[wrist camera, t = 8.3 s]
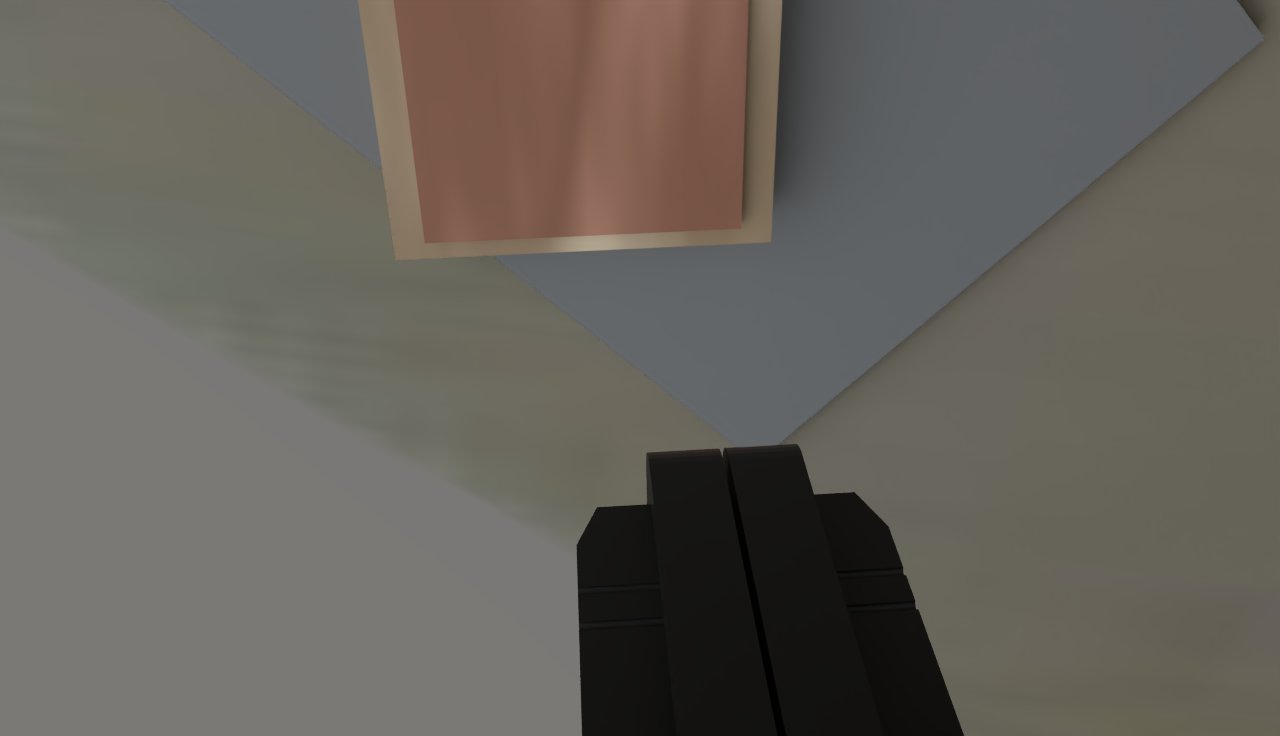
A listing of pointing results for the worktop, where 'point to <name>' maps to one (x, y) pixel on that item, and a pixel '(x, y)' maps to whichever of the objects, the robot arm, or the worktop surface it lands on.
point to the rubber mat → (833, 175)
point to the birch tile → (573, 123)
